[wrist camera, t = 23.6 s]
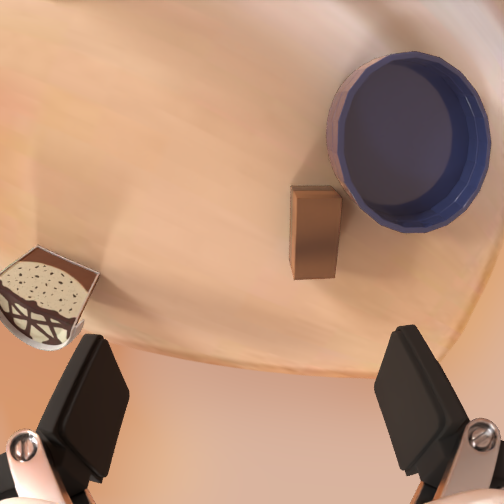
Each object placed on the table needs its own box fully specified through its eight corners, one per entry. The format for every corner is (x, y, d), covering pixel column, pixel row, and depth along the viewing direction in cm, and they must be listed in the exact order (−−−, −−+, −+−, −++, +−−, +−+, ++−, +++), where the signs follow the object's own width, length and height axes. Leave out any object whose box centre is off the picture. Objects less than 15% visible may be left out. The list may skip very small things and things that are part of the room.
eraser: (290, 185, 30) (296, 198, 26) (331, 185, 30) (342, 197, 26) (288, 260, 33) (293, 280, 30) (325, 258, 33) (334, 278, 30)
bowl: (325, 45, 23) (336, 37, 20) (471, 75, 23) (493, 75, 20) (322, 218, 31) (332, 234, 28) (457, 219, 31) (476, 232, 28)
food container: (27, 279, 34) (-12, 324, 25) (28, 240, 31) (-19, 282, 23) (104, 314, 36) (75, 370, 27) (111, 277, 34) (76, 333, 25)
